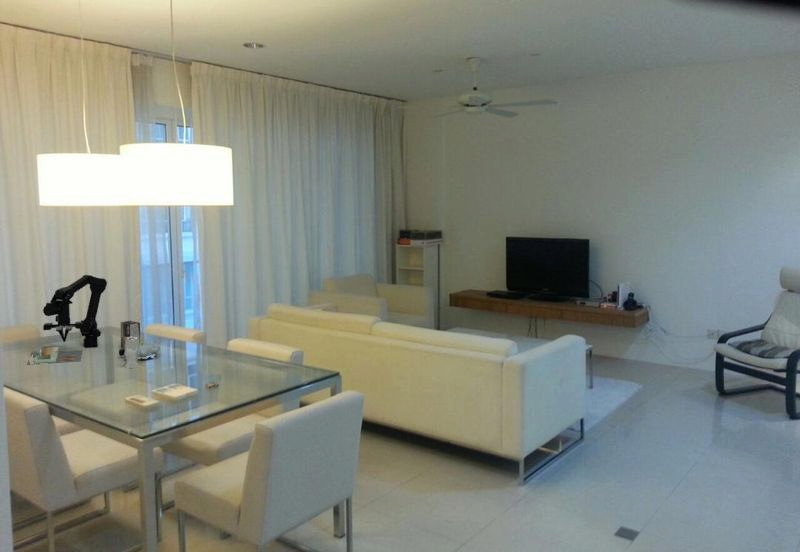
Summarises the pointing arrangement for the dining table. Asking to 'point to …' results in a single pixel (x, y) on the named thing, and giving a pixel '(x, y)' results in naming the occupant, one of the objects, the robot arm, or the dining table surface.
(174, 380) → the dining table surface
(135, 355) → the beer glass
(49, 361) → the tray
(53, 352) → the beige slab
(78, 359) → the mat
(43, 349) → the dowel
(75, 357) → the socket
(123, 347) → the coffee box
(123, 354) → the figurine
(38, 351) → the bench stop
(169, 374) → the dining table surface
